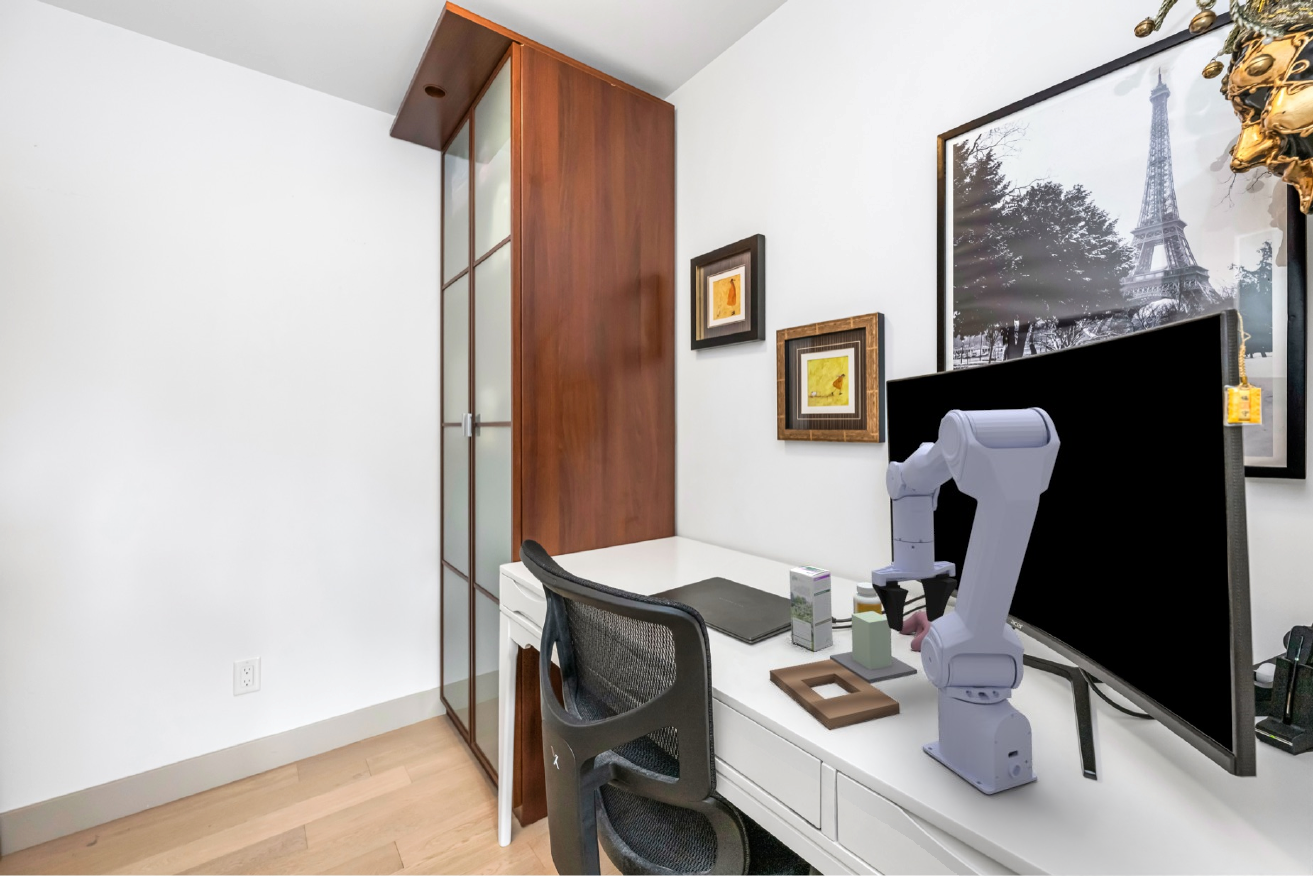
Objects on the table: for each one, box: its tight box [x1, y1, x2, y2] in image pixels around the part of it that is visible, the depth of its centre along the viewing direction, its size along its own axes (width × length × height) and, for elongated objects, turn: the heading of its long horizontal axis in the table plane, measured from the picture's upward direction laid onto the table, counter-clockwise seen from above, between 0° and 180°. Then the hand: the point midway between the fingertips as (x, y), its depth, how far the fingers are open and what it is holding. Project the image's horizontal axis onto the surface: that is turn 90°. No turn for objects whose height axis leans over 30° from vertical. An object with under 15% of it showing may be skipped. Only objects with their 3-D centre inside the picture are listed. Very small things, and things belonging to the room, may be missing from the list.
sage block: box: [851, 611, 893, 670], centre depth 93 cm, size 4×4×8 cm
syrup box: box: [789, 565, 834, 652], centre depth 103 cm, size 6×6×14 cm
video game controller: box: [899, 609, 931, 652], centre depth 102 cm, size 10×5×7 cm, turn 170°
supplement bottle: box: [852, 581, 883, 615], centre depth 108 cm, size 5×5×10 cm
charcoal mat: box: [829, 651, 918, 684], centre depth 93 cm, size 10×10×1 cm
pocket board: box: [769, 658, 901, 731], centre depth 83 cm, size 16×12×2 cm
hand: (915, 625), depth 83 cm, fingers open, 7 cm apart
